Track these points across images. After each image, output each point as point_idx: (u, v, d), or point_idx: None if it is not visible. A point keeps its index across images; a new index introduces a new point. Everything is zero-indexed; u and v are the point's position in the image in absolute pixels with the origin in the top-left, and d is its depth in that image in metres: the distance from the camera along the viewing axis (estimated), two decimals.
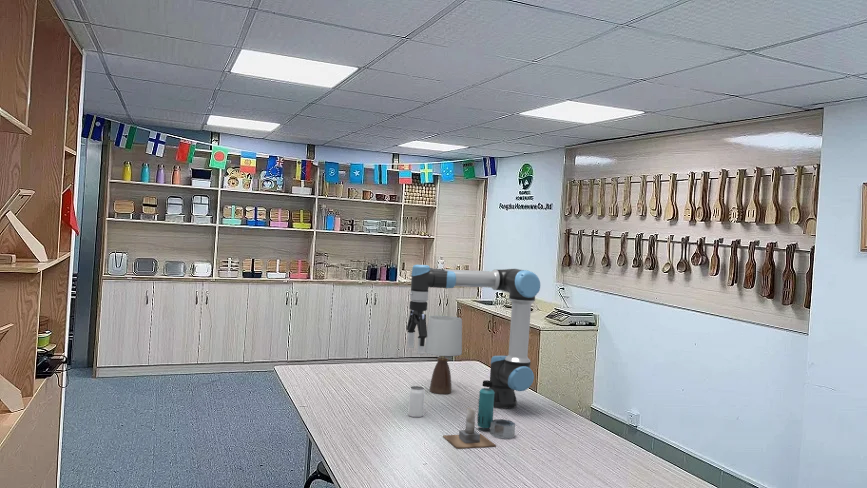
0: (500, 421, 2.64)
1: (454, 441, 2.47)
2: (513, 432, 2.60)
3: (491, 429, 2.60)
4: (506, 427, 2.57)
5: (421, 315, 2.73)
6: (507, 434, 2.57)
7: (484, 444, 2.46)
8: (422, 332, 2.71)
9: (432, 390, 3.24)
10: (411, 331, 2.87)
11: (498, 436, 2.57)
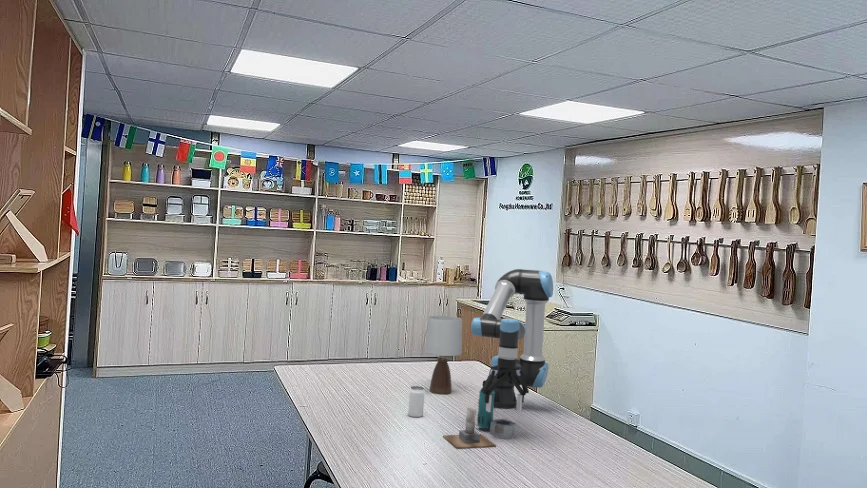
0: (500, 421, 2.64)
1: (454, 441, 2.47)
2: (513, 432, 2.60)
3: (491, 429, 2.60)
4: (506, 427, 2.57)
5: (490, 370, 2.59)
6: (507, 434, 2.57)
7: (484, 444, 2.46)
8: (482, 387, 2.58)
9: (432, 390, 3.24)
10: (520, 393, 2.63)
11: (498, 436, 2.57)
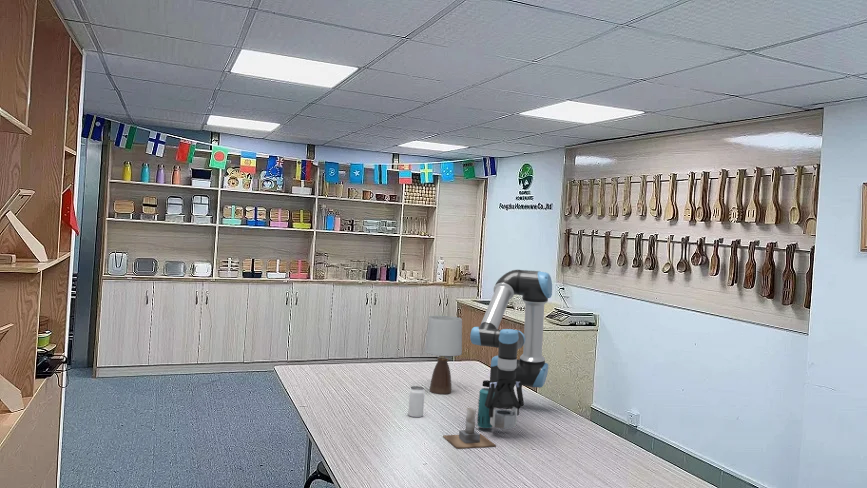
0: (501, 411, 2.65)
1: (454, 441, 2.47)
2: (514, 422, 2.60)
3: None
4: (507, 417, 2.57)
5: (489, 383, 2.60)
6: (508, 424, 2.58)
7: (484, 444, 2.46)
8: (486, 401, 2.60)
9: (432, 390, 3.24)
10: (516, 406, 2.63)
11: (499, 426, 2.58)
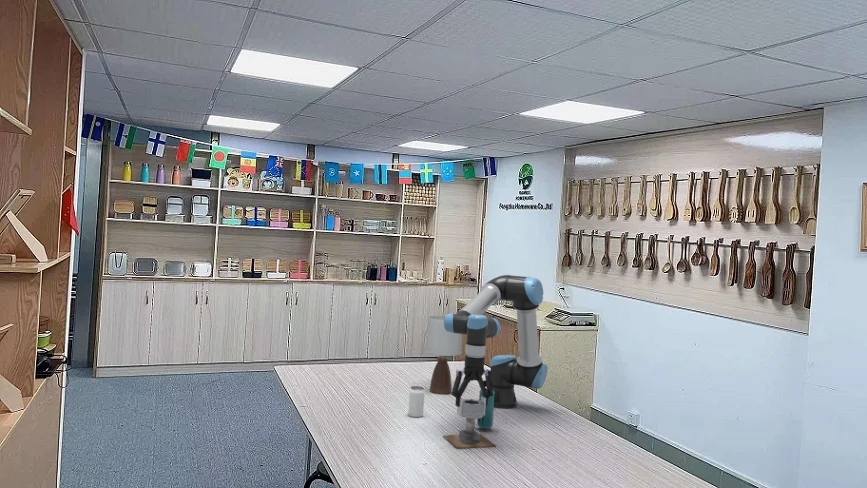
0: (469, 401, 2.52)
1: (454, 441, 2.47)
2: (482, 412, 2.48)
3: None
4: (474, 406, 2.45)
5: (456, 371, 2.48)
6: (475, 414, 2.45)
7: (484, 444, 2.46)
8: (452, 390, 2.48)
9: (432, 390, 3.24)
10: (484, 396, 2.51)
11: (466, 416, 2.46)
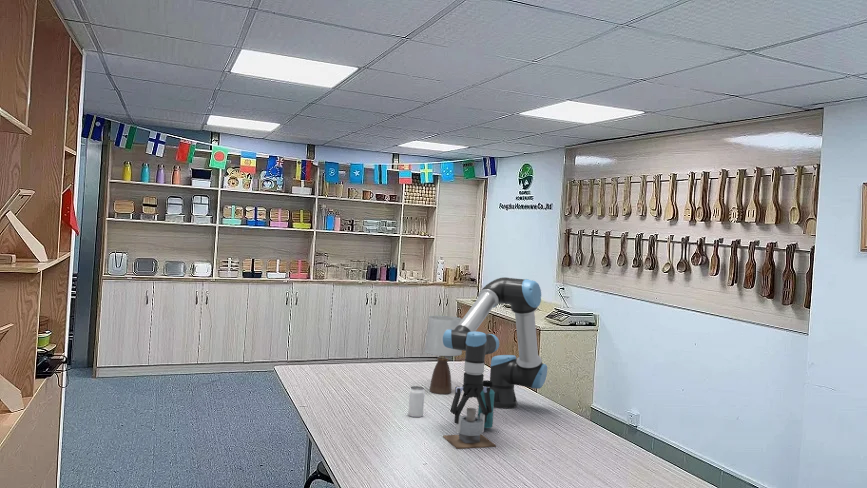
0: None
1: (454, 441, 2.47)
2: (481, 429, 2.48)
3: None
4: (473, 424, 2.45)
5: (455, 388, 2.48)
6: (474, 431, 2.46)
7: (484, 444, 2.46)
8: (451, 407, 2.48)
9: (432, 390, 3.24)
10: (483, 412, 2.51)
11: (465, 433, 2.46)
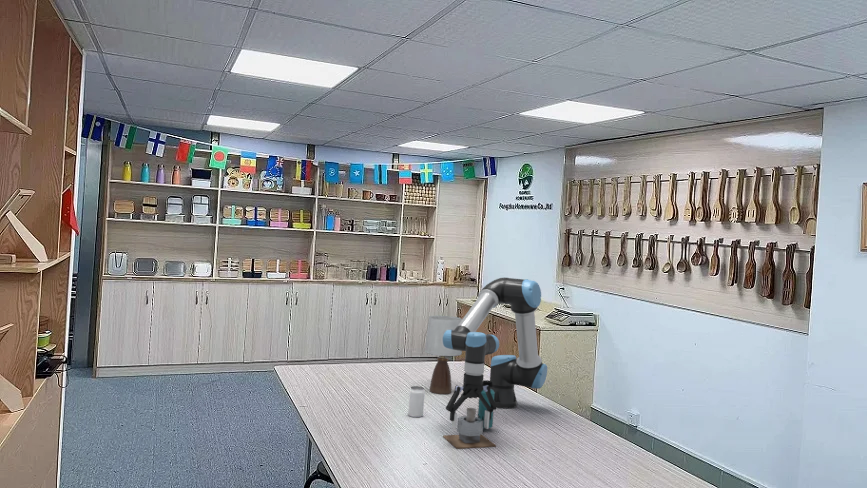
0: None
1: (454, 441, 2.47)
2: (481, 429, 2.48)
3: (458, 426, 2.49)
4: (473, 424, 2.45)
5: (455, 386, 2.48)
6: (474, 431, 2.46)
7: (484, 444, 2.46)
8: (447, 404, 2.47)
9: (432, 390, 3.24)
10: (488, 409, 2.52)
11: (465, 433, 2.46)
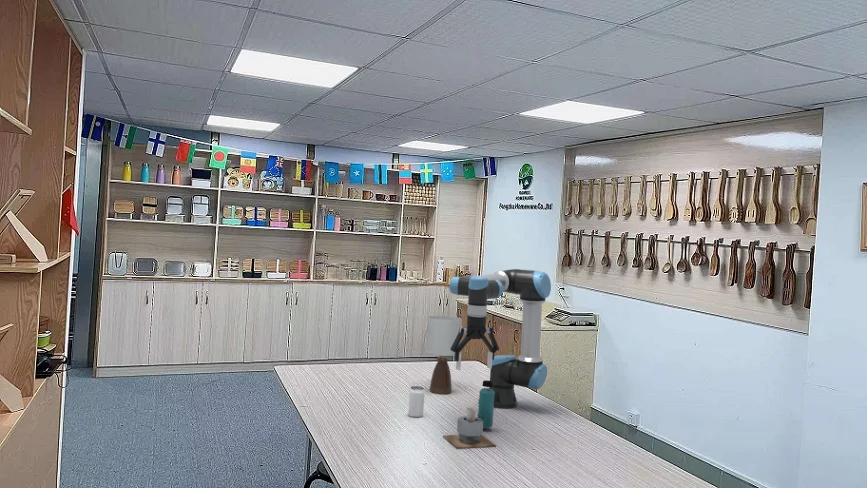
0: None
1: (454, 441, 2.47)
2: (481, 429, 2.48)
3: (458, 426, 2.49)
4: (473, 424, 2.45)
5: (459, 328, 2.58)
6: (474, 431, 2.46)
7: (484, 444, 2.46)
8: (452, 345, 2.57)
9: (432, 390, 3.24)
10: (491, 350, 2.62)
11: (465, 433, 2.46)
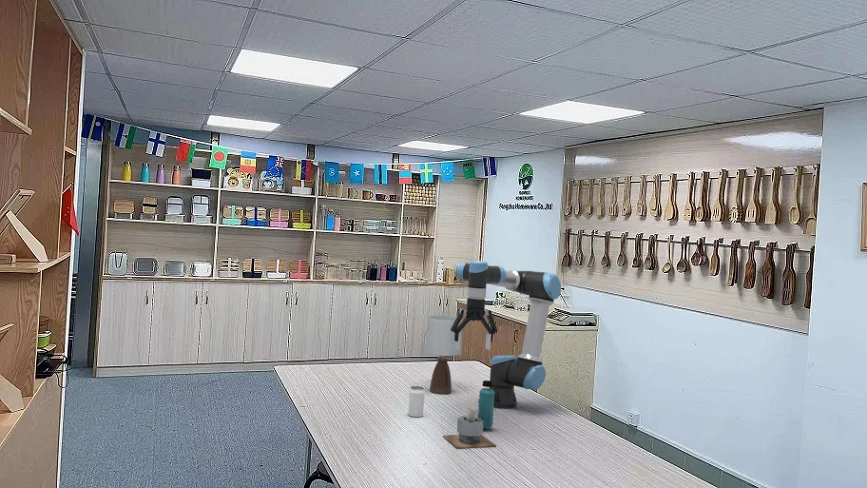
0: None
1: (454, 441, 2.47)
2: (481, 429, 2.48)
3: (458, 426, 2.49)
4: (473, 424, 2.45)
5: (459, 310, 2.69)
6: (474, 431, 2.46)
7: (484, 444, 2.46)
8: (452, 326, 2.68)
9: (432, 390, 3.24)
10: (489, 332, 2.73)
11: (465, 433, 2.46)
